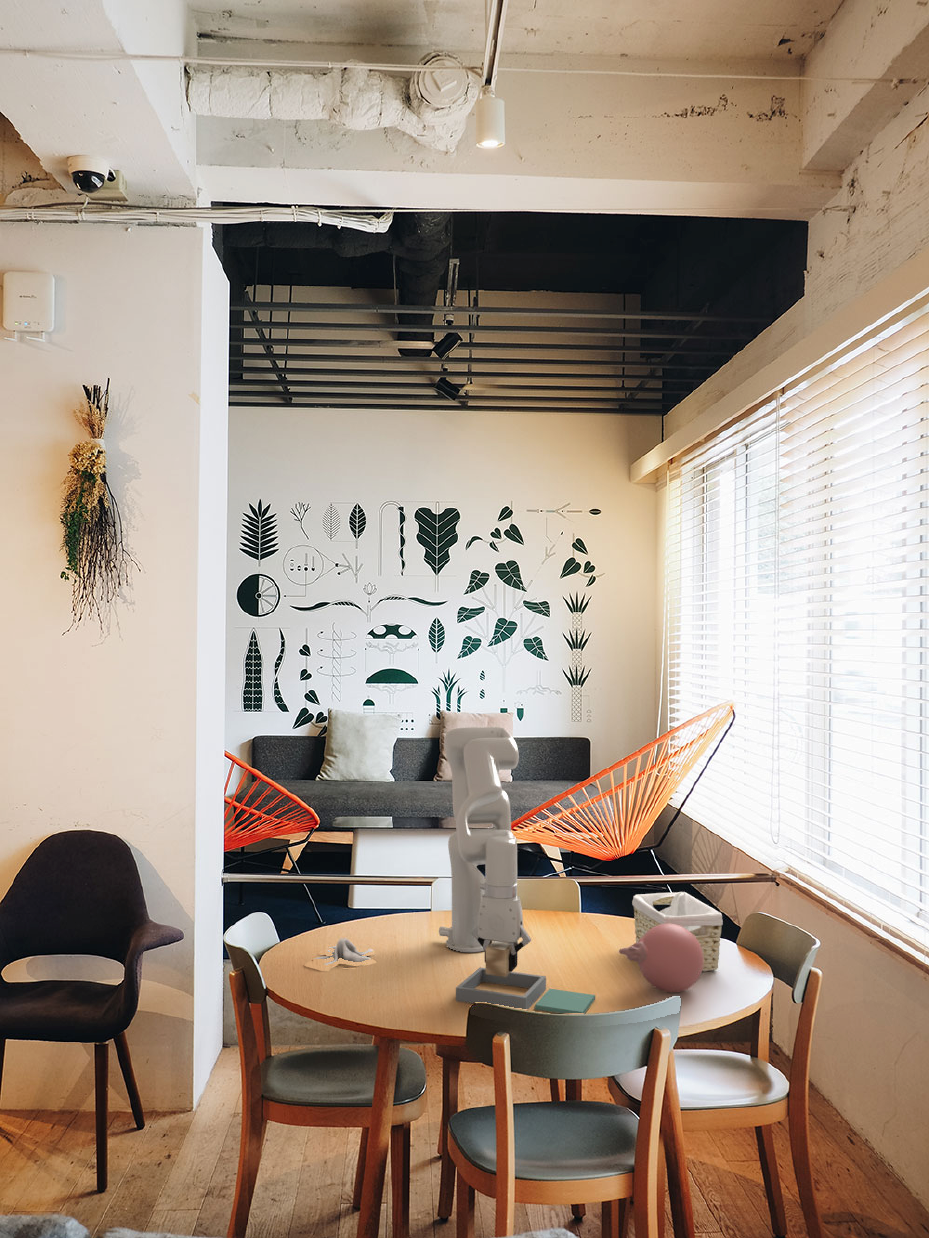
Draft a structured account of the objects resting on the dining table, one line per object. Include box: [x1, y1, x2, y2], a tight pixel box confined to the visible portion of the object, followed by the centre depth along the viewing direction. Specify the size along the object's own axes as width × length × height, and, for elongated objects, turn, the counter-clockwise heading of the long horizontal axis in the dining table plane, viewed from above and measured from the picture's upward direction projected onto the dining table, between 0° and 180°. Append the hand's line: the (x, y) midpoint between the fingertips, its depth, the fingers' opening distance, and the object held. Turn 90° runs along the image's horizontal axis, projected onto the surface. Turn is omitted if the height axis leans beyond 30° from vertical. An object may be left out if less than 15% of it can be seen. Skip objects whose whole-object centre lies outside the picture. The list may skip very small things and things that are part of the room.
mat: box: [534, 988, 596, 1014], centre depth 209 cm, size 11×11×1 cm
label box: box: [485, 941, 510, 977], centre depth 216 cm, size 5×7×6 cm
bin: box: [455, 967, 547, 1010], centre depth 215 cm, size 17×15×3 cm
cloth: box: [314, 937, 374, 965], centre depth 240 cm, size 22×19×6 cm
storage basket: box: [631, 891, 724, 972], centre depth 240 cm, size 24×16×15 cm
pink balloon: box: [618, 924, 704, 993], centre depth 218 cm, size 15×20×15 cm
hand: (500, 966), depth 216 cm, fingers closed on label box, 5 cm apart
